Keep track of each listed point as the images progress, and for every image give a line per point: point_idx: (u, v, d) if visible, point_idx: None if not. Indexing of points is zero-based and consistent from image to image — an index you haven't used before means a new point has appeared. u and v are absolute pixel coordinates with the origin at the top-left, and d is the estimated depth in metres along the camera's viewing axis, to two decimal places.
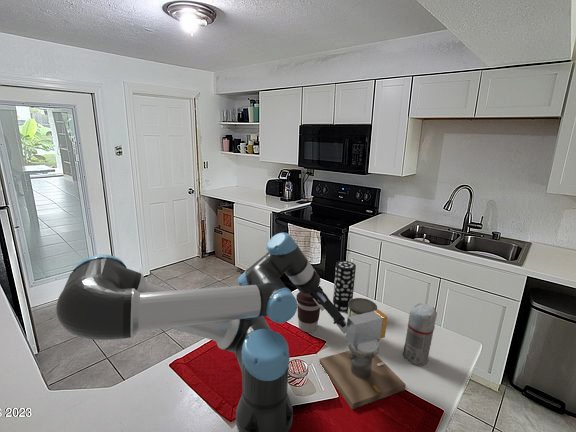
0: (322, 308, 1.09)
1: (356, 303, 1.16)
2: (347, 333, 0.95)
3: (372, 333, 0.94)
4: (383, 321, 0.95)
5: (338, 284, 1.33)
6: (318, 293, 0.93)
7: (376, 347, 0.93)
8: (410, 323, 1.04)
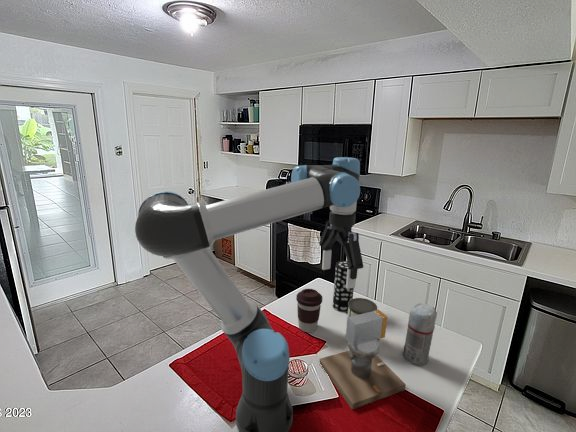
0: (324, 267, 1.03)
1: (356, 303, 1.16)
2: (347, 333, 0.95)
3: (372, 333, 0.94)
4: (383, 321, 0.95)
5: (338, 284, 1.33)
6: (349, 232, 0.90)
7: (376, 347, 0.93)
8: (410, 323, 1.04)
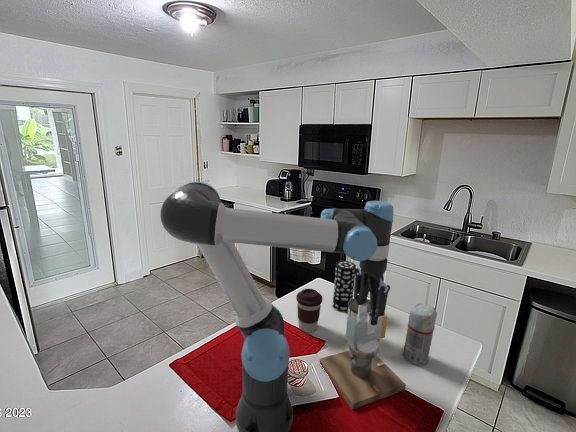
0: None
1: (356, 303, 1.16)
2: (347, 333, 0.95)
3: (372, 333, 0.94)
4: (383, 321, 0.95)
5: (338, 284, 1.33)
6: (381, 281, 0.87)
7: (376, 347, 0.93)
8: (410, 323, 1.04)
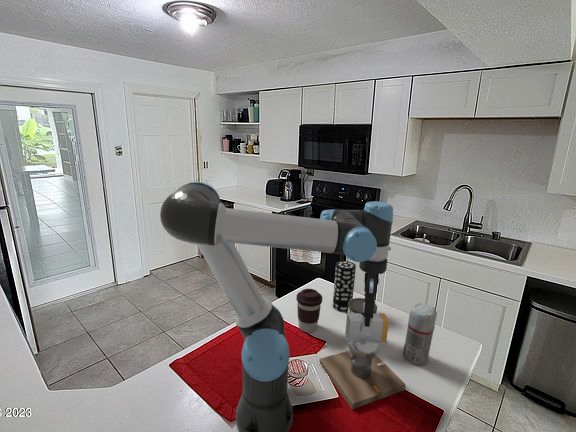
0: None
1: (356, 303, 1.16)
2: (346, 329, 0.97)
3: (371, 334, 0.94)
4: (383, 324, 0.93)
5: (338, 284, 1.33)
6: (371, 281, 0.87)
7: (372, 349, 0.92)
8: (410, 323, 1.04)
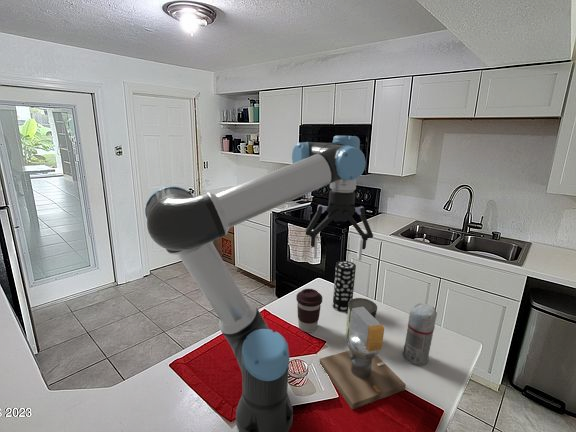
0: (357, 254, 0.98)
1: (356, 303, 1.16)
2: None
3: (361, 333, 0.94)
4: (368, 330, 0.90)
5: (338, 284, 1.33)
6: (327, 206, 0.94)
7: (353, 344, 0.94)
8: (410, 323, 1.04)
